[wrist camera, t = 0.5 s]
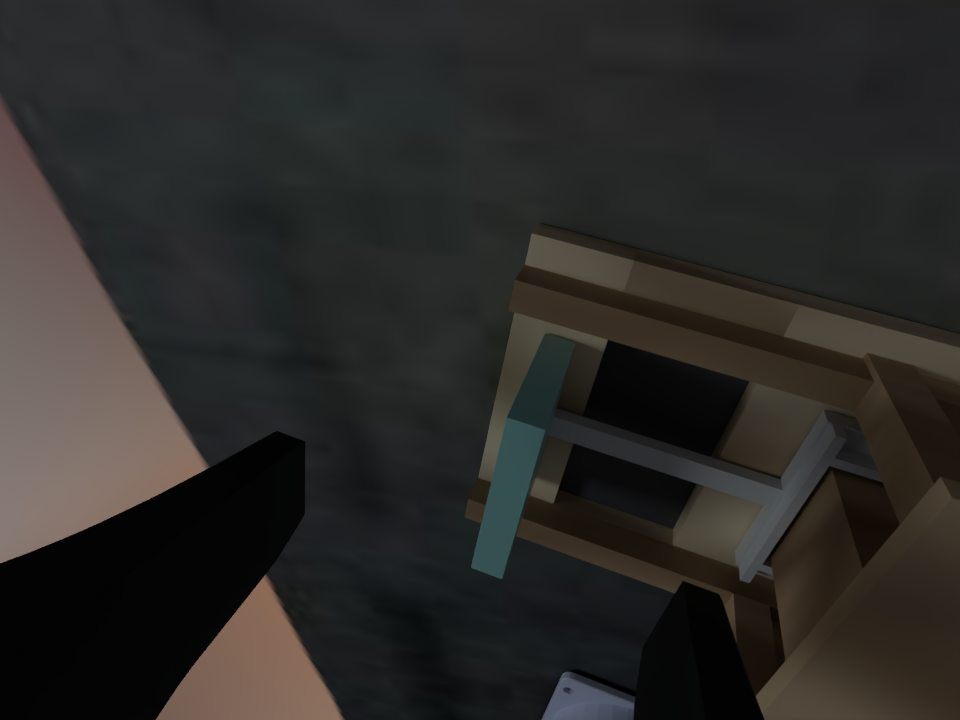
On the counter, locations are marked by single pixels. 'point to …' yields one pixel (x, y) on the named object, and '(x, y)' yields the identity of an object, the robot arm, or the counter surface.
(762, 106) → the counter surface
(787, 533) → the walnut block
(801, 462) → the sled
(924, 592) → the tunnel board
